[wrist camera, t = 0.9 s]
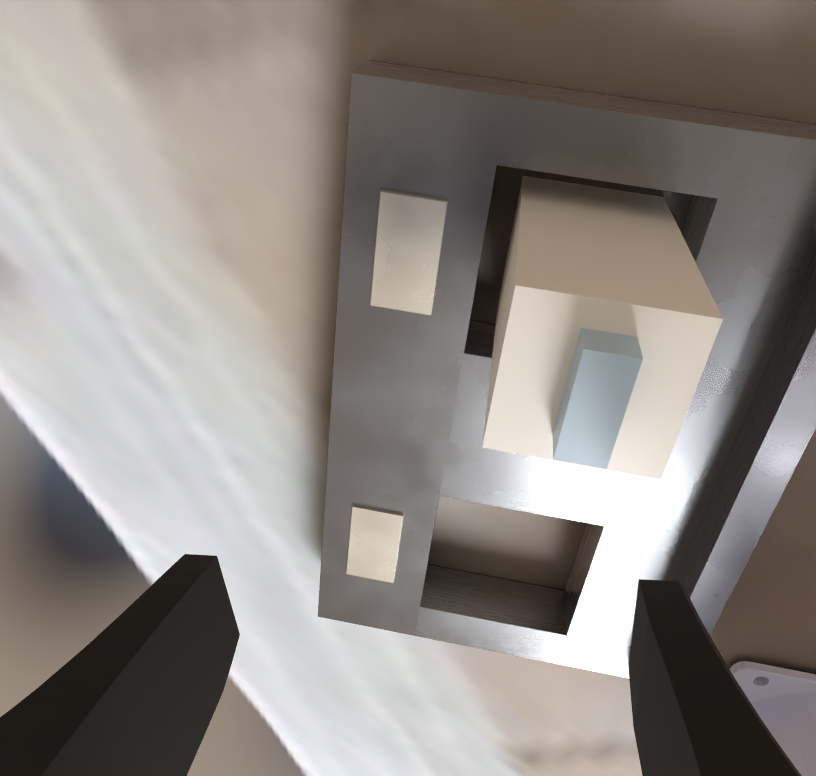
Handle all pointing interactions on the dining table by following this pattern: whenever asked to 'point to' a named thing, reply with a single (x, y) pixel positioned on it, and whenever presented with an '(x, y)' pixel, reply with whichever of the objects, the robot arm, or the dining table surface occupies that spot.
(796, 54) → the dining table surface
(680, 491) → the port panel
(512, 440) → the plug
